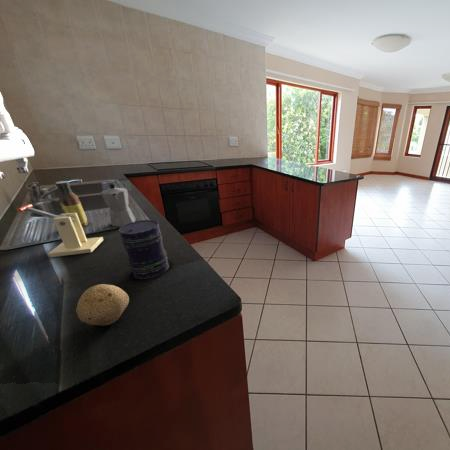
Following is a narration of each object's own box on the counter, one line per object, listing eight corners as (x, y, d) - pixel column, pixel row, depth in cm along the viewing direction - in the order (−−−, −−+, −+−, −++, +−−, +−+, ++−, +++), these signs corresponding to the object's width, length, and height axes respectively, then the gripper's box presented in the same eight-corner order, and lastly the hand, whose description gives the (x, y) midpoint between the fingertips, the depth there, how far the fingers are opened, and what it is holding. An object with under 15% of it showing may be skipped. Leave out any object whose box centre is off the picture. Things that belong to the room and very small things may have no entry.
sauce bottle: (74, 224, 106) (56, 180, 99) (91, 222, 108) (75, 179, 101) (67, 229, 101) (47, 184, 93) (85, 227, 103) (67, 182, 95)
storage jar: (151, 259, 80) (140, 218, 74) (176, 263, 78) (166, 221, 72) (124, 276, 71) (109, 231, 65) (151, 281, 69) (138, 235, 63)
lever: (15, 212, 75) (17, 206, 75) (27, 207, 79) (28, 201, 79) (67, 227, 81) (68, 221, 80) (74, 222, 85) (76, 216, 85)
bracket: (49, 257, 80) (32, 222, 75) (66, 244, 89) (52, 212, 84) (91, 252, 84) (78, 219, 79) (103, 240, 92) (92, 209, 87)
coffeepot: (137, 225, 106) (125, 185, 99) (111, 230, 101) (97, 189, 94) (135, 214, 118) (124, 179, 110) (111, 218, 113) (99, 181, 105)
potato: (73, 339, 50) (54, 302, 46) (101, 309, 59) (87, 275, 55) (118, 336, 51) (103, 300, 47) (140, 307, 59) (129, 274, 55)
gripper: (6, 125, 75) (24, 169, 80) (-63, 126, 57) (-33, 183, 62) (31, 126, 76) (47, 169, 82) (-28, 127, 58) (-2, 182, 64)
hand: (12, 175), depth 72 cm, fingers open, 8 cm apart
